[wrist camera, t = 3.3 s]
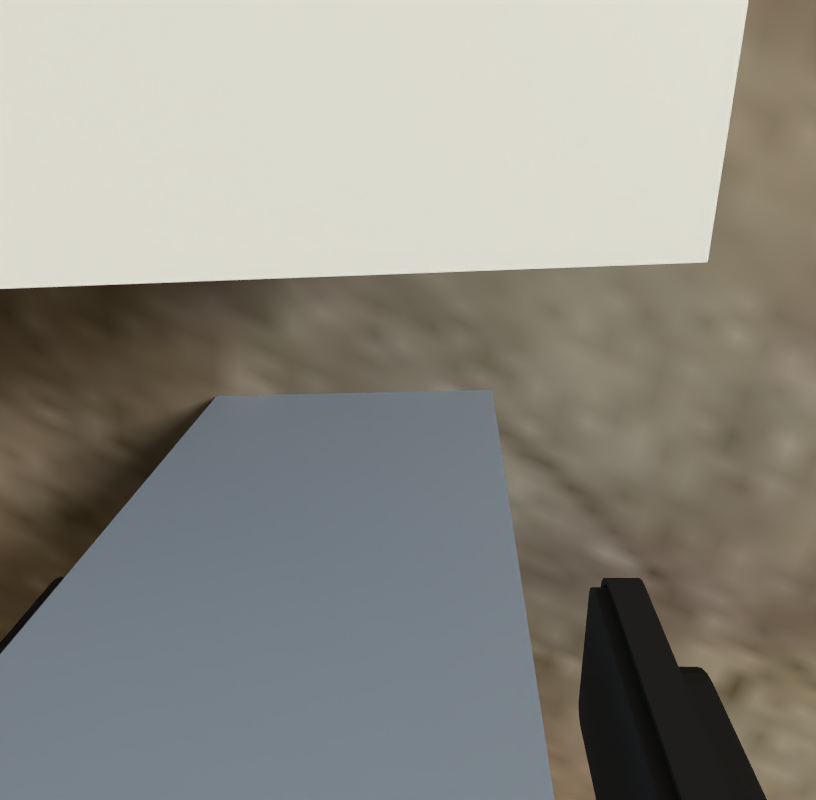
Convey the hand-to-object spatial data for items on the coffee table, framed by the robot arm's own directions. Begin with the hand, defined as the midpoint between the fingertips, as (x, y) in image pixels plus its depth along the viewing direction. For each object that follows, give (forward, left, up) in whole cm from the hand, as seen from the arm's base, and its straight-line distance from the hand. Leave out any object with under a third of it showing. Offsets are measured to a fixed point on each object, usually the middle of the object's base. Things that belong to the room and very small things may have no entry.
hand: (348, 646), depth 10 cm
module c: (0, 0, -3) cm, 3 cm away
